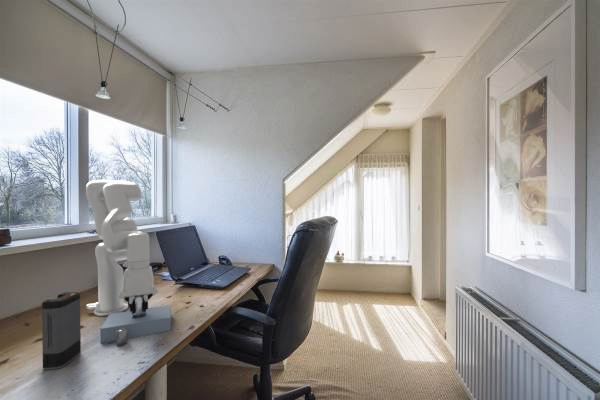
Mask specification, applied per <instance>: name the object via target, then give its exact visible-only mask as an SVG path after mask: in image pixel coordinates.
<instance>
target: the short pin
mask: <svg viewBox="0 0 600 400" xmlns="http://www.w3.org/2000/svg"><path fill="white" fill-rule="evenodd" d="M115 341H116V342H115V347H118V348H119V347H124V346H127V345H128V338H127V328H120V329H118V330H116V340H115Z"/></svg>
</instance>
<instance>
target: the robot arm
mask: <svg viewBox="0 0 600 400" xmlns="http://www.w3.org/2000/svg"><path fill="white" fill-rule="evenodd" d="M85 194H86V199H87V202H88V203H89V205H90V207H91V209H92V212H93V218H94V224H95V231H96V235H97V237H98V238H99V239H100V240H101V239H102V242H99V243H98V244H97V245H96V246H95V249H94V252H95V253H94V255H95V258H96V264H97V284H98V285H97V287H98V288H97V290H98V291H97V294H98V297H97V298H98V301H96V302H95V303H87V304H86V309H87V310H90V311H91V310H93V309H94V311H93V314H94V315H95V316H99V317H104V316H109V314H112V313H119V312H125V310H127V309H128V308H129V311H130V312H131V311H132V314H134V296H139V295H144V302H143V312H146V309H148V308H149V300H150V299H151V298H153V296H155V295H156V294H158V293H159V290H158V288H157V287H156V286H155V283H154V271H153V269H152V268H153V267H152V265H150V264H151V263H150V262H151V261H150V235H149V233H148V232H143V231H141V230H138V226H137V224H136V221H135V219H133V218H132V217H130V216H131V215H132V214H133V212H134V211H133V207H132V204H131V202H138V201H140V199H141V198H142V190H141V187H140V186H139V185H138V184H137V183H135V182H131V181H129V180H128V181H127V180H112V179H111V180H110V179H109V180H108V179H97V180H96V179H95V180H92V181H89V182H88V183H87V184H86V186H85ZM125 260H126V262H123V263H122V266H121V265H120V264H118V262H119V261H125ZM123 267H125V268H126V269H125V270H124V268H123ZM125 301H126V302H127V303H125ZM128 304H129V305H128Z"/></svg>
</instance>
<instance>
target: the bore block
mask: <svg viewBox="0 0 600 400" xmlns="http://www.w3.org/2000/svg"><path fill="white" fill-rule="evenodd" d="M171 322H172V304H168V305H167V304H166V305H161V306H153V307H148V309H146V312H144V317H140V318H135V317H134V314H132V311H131V312H130V310H127V311H122V312H119V313H112V314H109V315H107V317H106V319H105V321H104V322H103V323H102V325H101V327H100V328H99V332H100V333H99V337H100V340H99V342H100V344H104V343H108V342H113V341H114V342H115V341H116V330H118V329H120V328H127V339H131V338H136V337H141V336H149V335H153V334H158V333H164V332H169V331H171Z"/></svg>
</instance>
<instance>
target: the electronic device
mask: <svg viewBox="0 0 600 400" xmlns="http://www.w3.org/2000/svg"><path fill="white" fill-rule="evenodd" d="M41 325H42V326H41V329H42V331H41V332H42V334H41V335H42V337H41V338H42V342H41V343H42V345H41V346H42V369H43V370H59V369H62V368H64V367H65V366H66V365H68V364H69V363H70V362H72V361H73V360H74V359H75V358H77V357H78V356H79V355H80V354H81V352H82V351H81V349H82V348H81V347H82V343H81V334H82V333H81V293H80V292H79V291H71V292H70V291H69V292H62V293H59V294H58V295H57V297H56V298H55V299H54V298H53V299H45V300H44V301H42V302H41Z"/></svg>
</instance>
